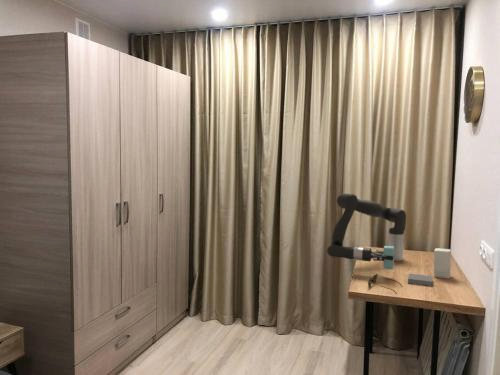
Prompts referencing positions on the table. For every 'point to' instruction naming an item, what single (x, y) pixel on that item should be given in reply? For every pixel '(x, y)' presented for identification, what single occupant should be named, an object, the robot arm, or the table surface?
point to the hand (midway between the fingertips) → (393, 257)
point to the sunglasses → (376, 284)
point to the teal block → (388, 252)
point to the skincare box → (442, 263)
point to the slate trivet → (420, 279)
